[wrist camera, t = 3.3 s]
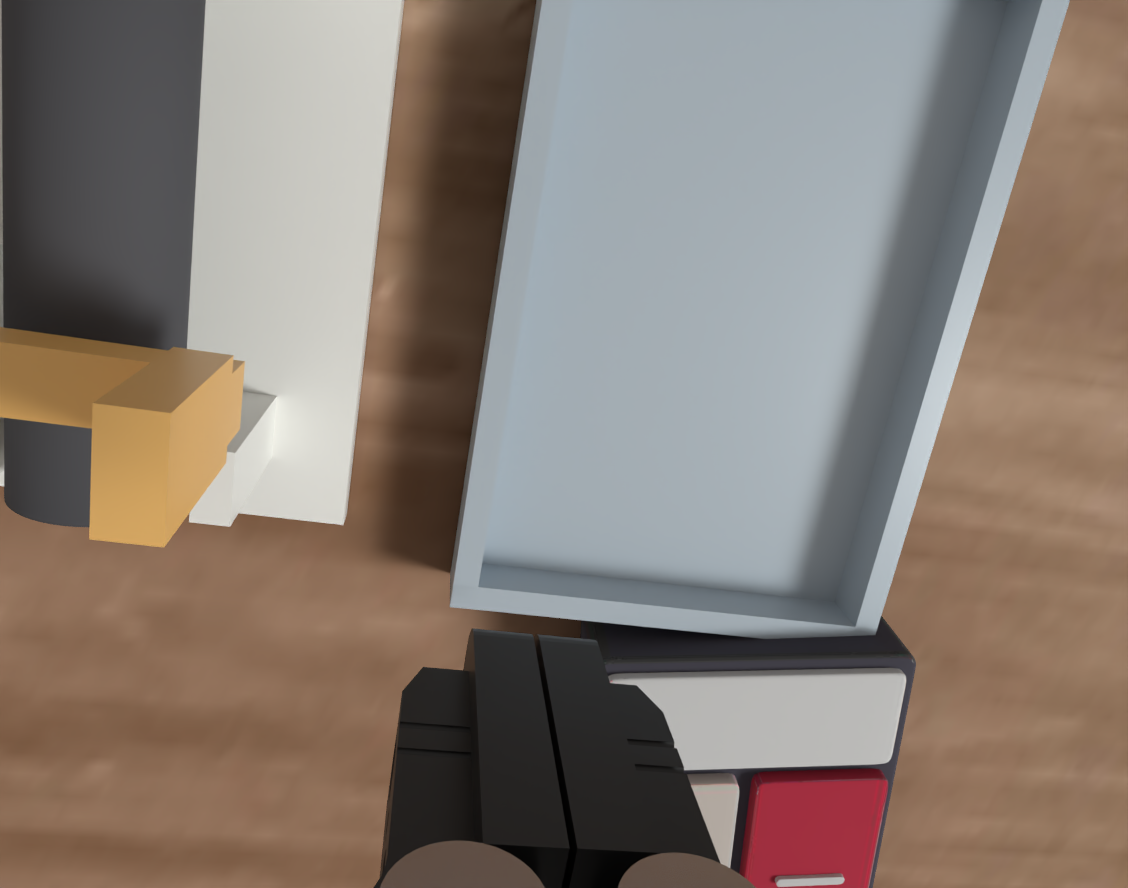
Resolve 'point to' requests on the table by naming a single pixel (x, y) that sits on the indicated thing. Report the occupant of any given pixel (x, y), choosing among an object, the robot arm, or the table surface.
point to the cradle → (287, 238)
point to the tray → (735, 302)
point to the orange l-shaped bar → (130, 422)
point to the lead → (94, 201)
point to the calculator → (778, 741)
